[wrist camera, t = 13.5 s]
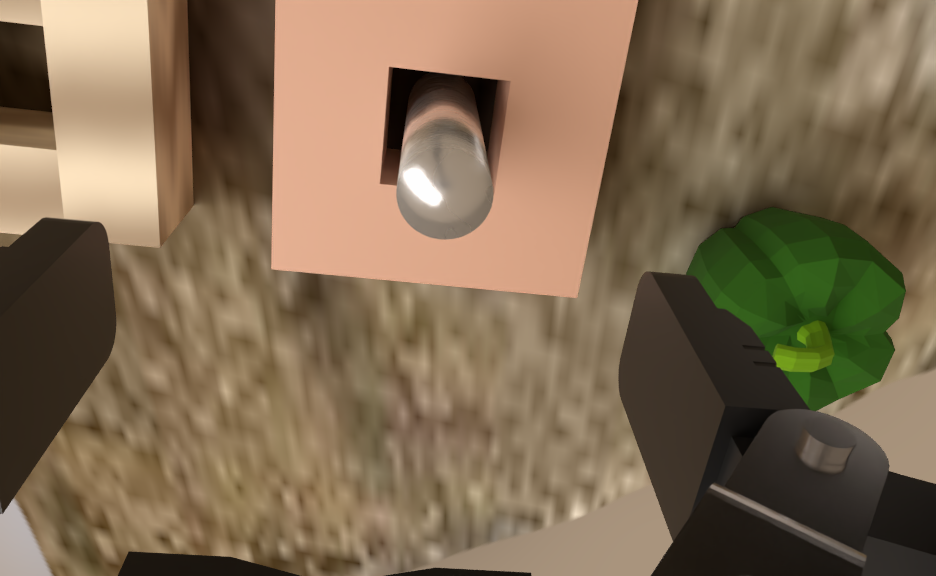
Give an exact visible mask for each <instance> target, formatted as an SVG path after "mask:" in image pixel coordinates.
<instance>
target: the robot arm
mask: <svg viewBox="0 0 936 576" xmlns="http://www.w3.org/2000/svg"><path fill="white" fill-rule="evenodd" d="M115 333H116V311H115V301H114V291H113V281H112V271H111V261H110V251H109V242H108V236H107V232H106V229H105V227H104V225H103V224H102V223H100V222H95V221H83V220H72V219H61V218H50V217H45V218H42V219H41V220H39V221H38V222H37V223H36V224H35V225H34V226H32V227H31V228H30V229H29V230H28V231H27V232H25V233H24V234H23V235H22V236H21V237H20V238H18V239H17V240H16V241H15V242H14V243H13V244H11V245H10V246H9V247H3V246H2V247H0V514H3V513H4V511H5V509H6V508H7V507H8V505H9V504H10V502H11V501H12V499H13V498H14V496H15V495H16V493H17V492H18V491H19V489H20V488H21V486H22V485H23V483H24V482H25V480H26V479H27V477H28V476H29V474H30V473H31V471H32V470H33V468H34V467H35V466H36V464H37V463H38V461H39V460H40V458H41V457H42V455H43V454H44V452H45V451H46V449H47V448H48V446H49V445H50V443H51V442H52V440H53V439H54V438H55V436H56V435H57V433H58V432H59V430H60V429H61V427H62V426H63V424H64V423H65V421H66V420H67V418H68V417H69V415H70V414H71V413H72V411H73V410H74V408H75V407H76V405H77V404H78V402H79V401H80V399H81V398H82V396H83V395H84V393H85V392H86V390H87V389H88V388H89V386H90V385H91V383H92V382H93V380H94V379H95V377H96V376H97V374H98V373H99V371H100V370H101V368H102V367H103V365H104V364H105V362H106V361H107V359H108V358H109V356H110V353H111V351H112V348H113V344H114V340H115ZM619 392H620V397H621V400H622V403H623V406H624V408H625V411H626V414H627V417H628V419H629V422H630V425H631V428H632V430H633V433H634V436H635V438H636V441H637V444H638V447H639V449H640V452H641V455H642V458H643V460H644V463H645V466H646V469H647V471H648V474H649V477H650V480H651V482H652V485H653V488H654V490H655V493H656V496H657V499H658V501H659V504H660V507H661V510H662V512H663V515H664V518H665V521H666V523H667V526H668V529H669V531H670V534H671V537H672V540H673V543H672V544H671V546H670V547H669V549H668V550H667V552H666V554H665V555H664V556H663V558H662V559H661V561H660V563H659V564H658V566H657V567H656V568H655V570H654V572H653V573H652V575H651V576H936V484H933V483H930V482H926V481H922V480H919V479H915V478H911V477H908V476H904V475H900V474H897V473H893V472H890V471H889V461H888V458H887V456H886V454H885V452H884V451H883V450H882V448H881V447H880V446H879V445H878V444H877V443H876V442H875V441H874V440H873V439H872V438H871V437H870V436H868V435H867V434H866V433H864V432H863V431H861V430H860V429H858V428H857V427H855V426H853V425H851V424H849V423H847V422H845V421H843V420H841V419H839V418H836V417H833V416H831V415H828V414H824V413H821V412H817V411H812V410H810V409H809V407H808V406H807V405H806V403H805V402H804V401H803V399H802V398H801V396H800V395H799V394H798V392H797V391H796V389H795V388H794V387H793V385H792V384H791V382H790V381H789V380H788V378H787V377H786V375H785V374H784V373H783V371H782V370H781V368H780V367H777V363H776V361H775V360H774V359H773V357H772V356H771V354H770V353H769V352H768V351H765V346H764V345H763V343H762V342H761V340H760V339H759V338H758V336H757V335H756V333H755V332H754V331H753V329H752V328H751V327H750V326H749V325H747V324H746V323H744V322H743V321H742V320H740V319H739V318H738V317H736V316H735V315H733V314H732V313H731V312H729V311H728V310H726V309H719V308H717V307H716V306H715V304H714V303H713V301H712V300H711V298H710V297H709V295H708V294H707V292H706V291H705V289H704V288H703V286H702V285H701V283H700V282H699V280H698V279H697V278H696V277H695V276H693V275H681V274H670V273H659V272H645V273H644V274H643V275H642V277H641V279H640V281H639V284H638V288H637V292H636V296H635V300H634V304H633V308H632V312H631V316H630V321H629V325H628V329H627V333H626V337H625V341H624V346H623V350H622V354H621V358H620V364H619ZM118 576H300V575H296V574H292V573H288V572H285V571H281V570H277V569H274V568H270V567H266V566H263V565H259V564H255V563H251V562H248V561H244V560H240V559H237V558H233V557H221V556H203V555H184V554H165V553H146V552H128V555H127V557H126V559H125V561H124V563H123V566H122V568H121V570H120V572H119V574H118ZM386 576H531V573H524V572H504V571H486V570H466V569H448V568H431V569H425V570H418V571H412V572H405V573H399V574H393V575H386Z"/></svg>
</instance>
